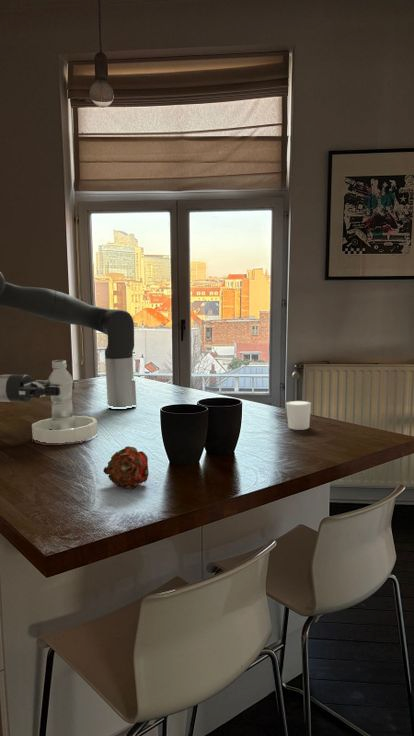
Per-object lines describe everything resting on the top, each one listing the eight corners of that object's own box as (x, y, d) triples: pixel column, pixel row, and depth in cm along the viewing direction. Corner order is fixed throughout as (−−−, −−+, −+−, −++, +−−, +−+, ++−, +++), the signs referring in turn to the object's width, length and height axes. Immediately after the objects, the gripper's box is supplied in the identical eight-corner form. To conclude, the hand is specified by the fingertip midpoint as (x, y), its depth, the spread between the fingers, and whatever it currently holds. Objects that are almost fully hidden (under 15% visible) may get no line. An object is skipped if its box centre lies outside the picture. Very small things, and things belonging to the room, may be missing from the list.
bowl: (93, 427, 163) (92, 413, 162) (101, 441, 147) (100, 426, 146) (32, 433, 158) (31, 419, 157) (33, 448, 142) (32, 433, 141)
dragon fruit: (133, 504, 106) (120, 493, 118) (165, 473, 109) (150, 464, 120) (103, 472, 105) (93, 463, 116) (137, 441, 107) (124, 435, 118)
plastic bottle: (46, 435, 151) (40, 362, 148) (63, 429, 157) (58, 358, 154) (64, 438, 148) (59, 363, 145) (81, 431, 154) (76, 359, 150)
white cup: (311, 430, 151) (310, 405, 150) (285, 430, 153) (285, 405, 152) (311, 424, 158) (311, 400, 157) (287, 424, 159) (286, 400, 159)
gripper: (-4, 378, 146) (53, 378, 143) (24, 371, 160) (77, 370, 157) (-2, 406, 147) (55, 407, 144) (26, 396, 161) (78, 397, 158)
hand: (66, 388), depth 150 cm, fingers open, 8 cm apart
